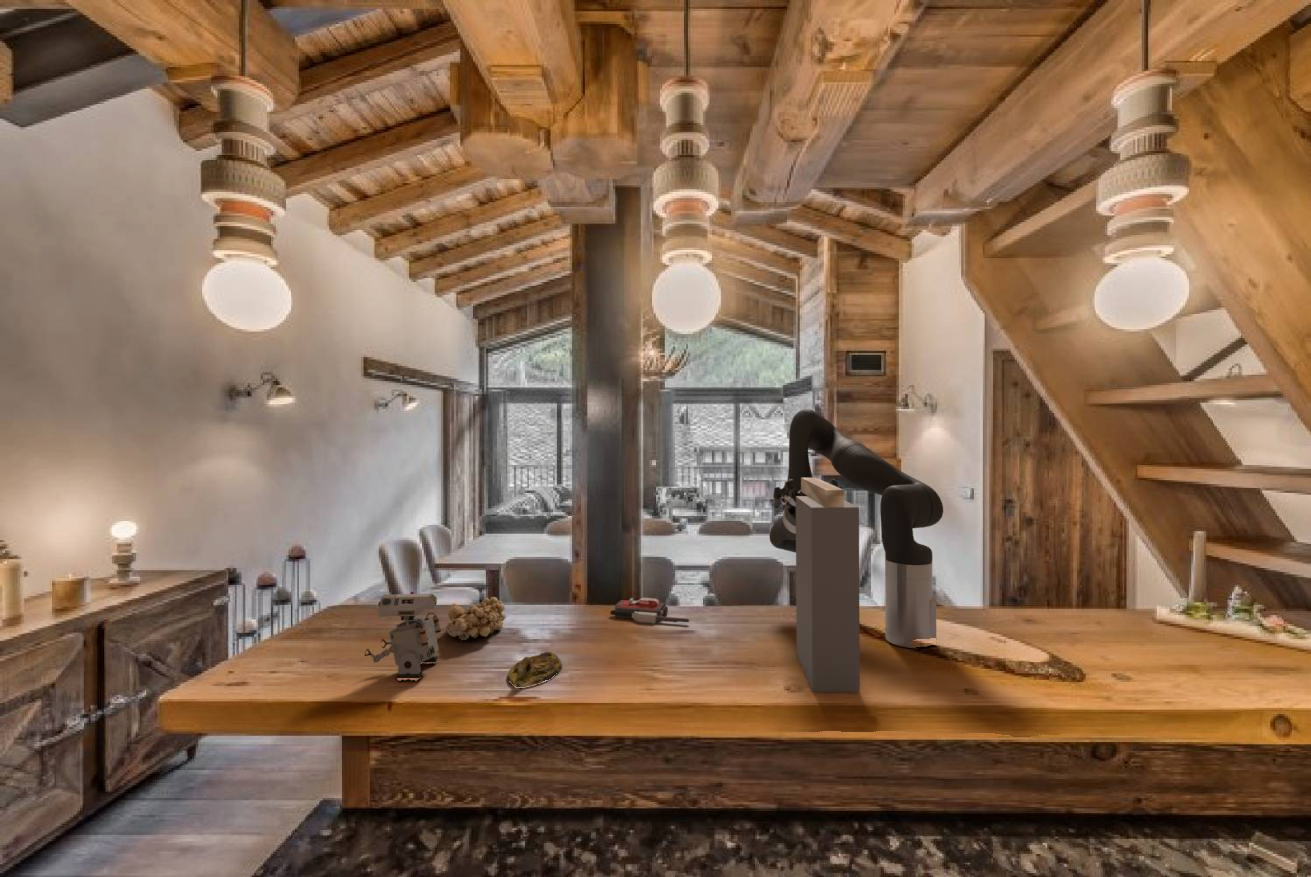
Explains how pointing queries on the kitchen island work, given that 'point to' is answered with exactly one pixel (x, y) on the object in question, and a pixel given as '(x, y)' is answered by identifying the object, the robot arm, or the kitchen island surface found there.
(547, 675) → the olive green oval lump
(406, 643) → the figurine
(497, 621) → the mineral formation
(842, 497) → the wooden bar
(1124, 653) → the kitchen island surface
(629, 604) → the red black elongated piece
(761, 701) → the kitchen island surface
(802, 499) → the charcoal plinth
